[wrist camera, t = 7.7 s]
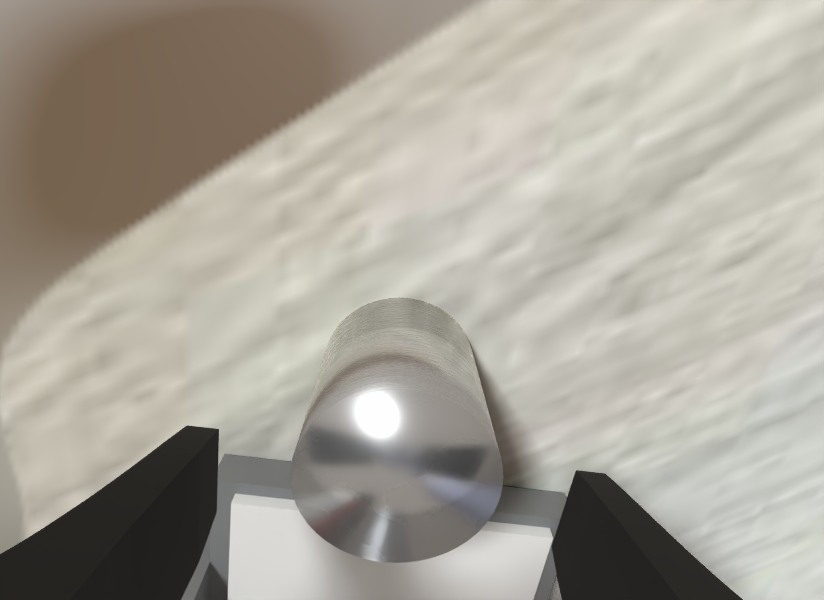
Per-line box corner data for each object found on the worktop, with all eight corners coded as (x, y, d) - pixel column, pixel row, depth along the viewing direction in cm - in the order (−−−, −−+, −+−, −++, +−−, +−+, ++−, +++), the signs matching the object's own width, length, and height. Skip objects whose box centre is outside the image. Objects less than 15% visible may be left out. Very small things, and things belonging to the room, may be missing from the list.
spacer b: (487, 308, 15) (524, 405, 10) (458, 437, 16) (480, 572, 12) (332, 287, 15) (298, 376, 10) (318, 420, 16) (283, 551, 11)
